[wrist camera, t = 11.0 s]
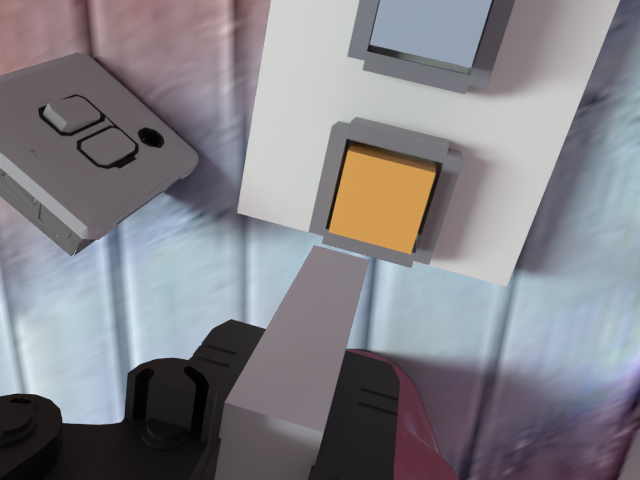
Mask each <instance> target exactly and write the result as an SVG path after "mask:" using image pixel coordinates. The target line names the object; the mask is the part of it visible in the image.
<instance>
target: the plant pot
mask: <svg viewBox="0 0 640 480" xmlns="http://www.w3.org/2000/svg"><path fill="white" fill-rule="evenodd" d="M346 351H350V352H353V353H356V354H360V355H363V356H367V357H370V358H374V359H377V360H381V361H384V362H388V363H391V364H392V366H393V368H394V370H395V372H396V374H397V376H398V378H399V380H400V391H399V400H398V402H399V405H398V415H397V417H398V419H397V433H396V447H395V461H394V480H459V478H458V477H457V475H456V474H455V472H454V471H453V469H452V468H451V467H450V466H449V464H448V463H447V462H446V461H445V460H444V459H443V458H442V456H441V453H440V450H439V447H438V444H437V441H436V438H435V435H434V432H433V429H432V427H431V424H430V421H429V419H428V416H427V413H426V411H425V408H424V405H423V402H422V400H421V397H420V394H419V391H418V389H417V388H416V386H415V384H414V383H413V381H412V380H411V379H410V377H409V376H408V375H407V374H406V373H405V372H404V371H403V370H402V369H401V368H399V367H398V366H397V365H396V364H394V363H393V362H391V361H389V360H388V359H386V358H383V357H381V356H379V355H376V354H374V353H371V352H367V351H362V350H353V349H346Z"/></svg>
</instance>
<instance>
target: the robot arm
mask: <svg viewBox="0 0 640 480" xmlns="http://www.w3.org/2000/svg"><path fill="white" fill-rule="evenodd" d="M368 263H369V260H367V259H363V258H360V257H356V256H352V255H348V254H345V253H341V252H337V251H333V250H330V249H326V248H322V247H319V246H315V245H314V246H313V248H312V250H311V252H310V253H309V255H308V257H307V259H306V260H305V262H304V264H303V266H302V267H301V269H300V271H299V273H298V274H297V276H296V278H295V280H294V281H293V283H292V285H291V287H290V288H289V290H288V292H287V294H286V295H285V297H284V299H283V301H282V302H281V304H280V306H279V308H278V309H277V311H276V313H275V315H274V317H273V318H272V320H271V322H270V324H269V325H268V327H267V329H263V328H260V327H256V326H253V325H250V324H246V323H243V322H239V321H236V320H232V319H231V320H229V321H227V322H225V323H223V324H221V325H219V326H217V327H215V328H213V329H212V330H211V332H210V333H209V334H208V336H207V337H206V338H205V340H204V341H203V342H202V345H201V346H199V347H198V349H197V350H196V351H195V353H194V354H193V357H192V358H190V359H189V360H185V359H178V358H163V359H155V360H152V361H149V362H146V363H143V364H140V365H139V366H137V367H136V368H134V369H133V370H132V371H130V372H129V373H128V377H127V390H126V404H125V417H124V419H123V421H122V422H120V423H115V424H103V425H91V424H68V423H62V416H61V411H60V408H58V407H57V406H56V405H55V404H54V403H53V402H52V401H51V400H50V399H47V398H44V397H41V396H38V395H35V394H11V395H6V396H0V480H394V461H395V447H396V433H397V419H398V417H397V415H398V405H399V402H398V400H399V391H400V380H399V378H398V376H397V374H396V372H395V370H394V368H393V366H392V364H391V363H388V362H384V361H381V360H377V359H374V358H370V357H367V356H363V355H360V354H356V353H353V352H350V351H346V346H347V342H348V338H349V335H350V331H351V327H352V323H353V319H354V316H355V312H356V308H357V304H358V301H359V297H360V293H361V289H362V285H363V282H364V278H365V274H366V270H367V266H368Z"/></svg>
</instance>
